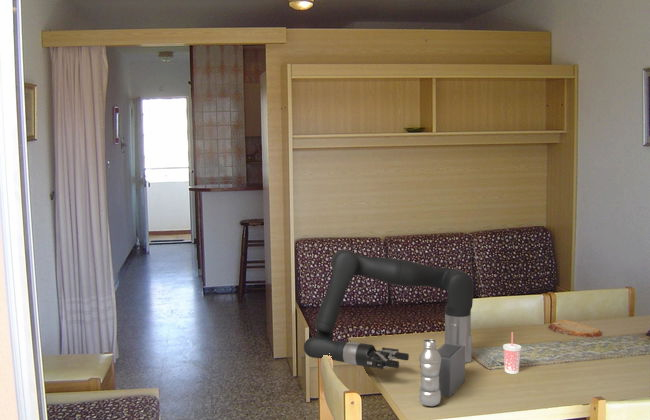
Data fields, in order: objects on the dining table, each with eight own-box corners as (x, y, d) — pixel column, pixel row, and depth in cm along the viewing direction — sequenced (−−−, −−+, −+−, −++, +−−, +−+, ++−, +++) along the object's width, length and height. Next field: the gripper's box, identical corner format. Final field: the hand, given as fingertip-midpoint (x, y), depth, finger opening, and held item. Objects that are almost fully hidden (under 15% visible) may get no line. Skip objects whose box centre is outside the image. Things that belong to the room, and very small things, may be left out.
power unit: (464, 380, 223) (465, 345, 222) (450, 397, 209) (450, 359, 208) (443, 377, 226) (443, 342, 225) (427, 393, 212) (427, 355, 211)
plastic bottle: (416, 401, 206) (416, 338, 204) (438, 399, 207) (438, 337, 205) (421, 409, 200) (421, 344, 198) (443, 408, 200) (443, 343, 198)
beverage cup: (511, 375, 227) (512, 335, 226) (498, 370, 232) (499, 331, 231) (524, 372, 230) (525, 332, 228) (511, 367, 235) (512, 328, 234)
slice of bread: (605, 337, 270) (605, 328, 269) (561, 338, 269) (561, 329, 269) (585, 325, 287) (586, 317, 287) (544, 326, 287) (545, 318, 286)
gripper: (349, 349, 221) (395, 356, 213) (367, 337, 233) (411, 343, 225) (350, 371, 221) (395, 378, 214) (367, 358, 234) (411, 365, 226)
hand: (403, 360), depth 220 cm, fingers open, 8 cm apart
